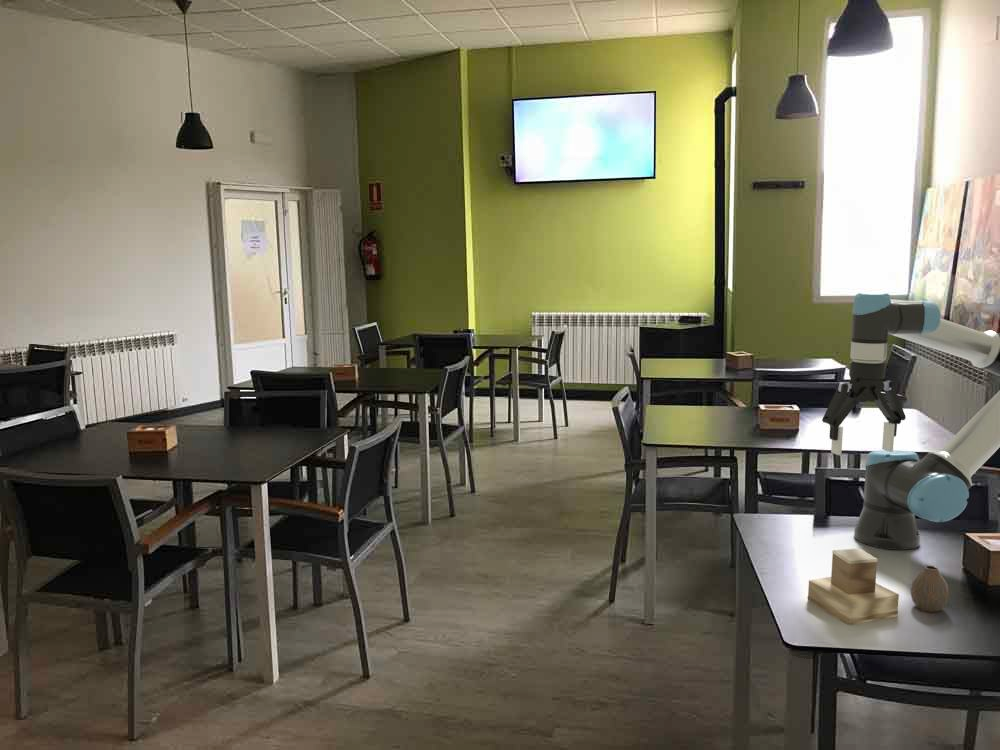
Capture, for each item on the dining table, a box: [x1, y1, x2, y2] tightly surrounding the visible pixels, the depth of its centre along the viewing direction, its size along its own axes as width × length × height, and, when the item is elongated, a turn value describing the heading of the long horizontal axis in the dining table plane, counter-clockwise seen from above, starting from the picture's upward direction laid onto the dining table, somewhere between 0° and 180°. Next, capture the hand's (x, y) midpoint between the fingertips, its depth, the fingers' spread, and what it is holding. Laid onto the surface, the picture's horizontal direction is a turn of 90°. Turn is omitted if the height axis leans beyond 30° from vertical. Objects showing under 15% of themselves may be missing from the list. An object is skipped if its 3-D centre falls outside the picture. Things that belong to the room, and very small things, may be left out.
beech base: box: [807, 576, 900, 626], centre depth 171 cm, size 12×12×5 cm
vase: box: [910, 564, 950, 613], centre depth 170 cm, size 7×7×9 cm
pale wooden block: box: [830, 548, 879, 594], centre depth 170 cm, size 6×6×7 cm
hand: (862, 452), depth 192 cm, fingers open, 13 cm apart
